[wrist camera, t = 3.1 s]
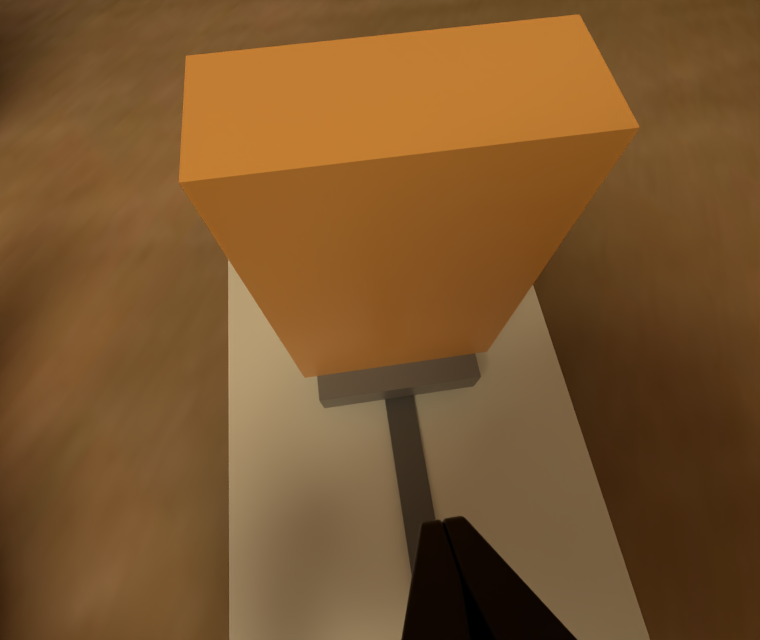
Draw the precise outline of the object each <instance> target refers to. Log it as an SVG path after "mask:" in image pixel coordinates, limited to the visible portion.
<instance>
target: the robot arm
mask: <svg viewBox="0 0 760 640" xmlns="http://www.w3.org/2000/svg"><path fill="white" fill-rule="evenodd" d="M401 640H577V639H576V637H575V636H574V635H573V634H572V633H571V632H570V631H569V630H568V629H567V628H566V627H565V626H564V624H563V623H562V622H561V621H560V620H559V619H558V618H557V617H556V616H555V615H554V614H553V612H552V611H551V610H550V609H549V608H548V607H547V606H546V605H545V604H544V603H543V602H542V601H541V599H540V598H539V597H538V596H537V595H536V594H535V593H534V592H533V591H532V590H531V589H530V587H529V586H528V585H527V584H526V583H525V582H524V581H523V580H522V579H521V578H520V577H519V575H518V574H517V573H516V572H515V571H514V570H513V569H512V568H511V567H510V566H509V565H508V564H507V562H506V561H505V560H504V559H503V558H502V557H501V556H500V555H499V554H498V553H497V552H496V550H495V549H494V548H493V547H492V546H491V545H490V544H489V543H488V542H487V541H486V540H485V539H484V537H483V536H482V535H481V534H480V533H479V532H478V531H477V530H476V529H475V528H474V527H473V525H472V524H471V523H470V522H469V521H468V520H467V519H466V518H465V517H463V516H456V517H449V518H445V519H444V520H443V522H442V521H441V520H439V519H437V520H431V521H425V522H422V523H421V525H420V529H419V535H418V541H417V547H416V554H415V560H414V566H413V572H412V578H411V584H410V590H409V596H408V602H407V608H406V614H405V620H404V626H403V632H402V638H401Z"/></svg>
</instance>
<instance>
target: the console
mask: <svg viewBox="0 0 760 640" xmlns="http://www.w3.org/2000/svg"><path fill="white" fill-rule="evenodd" d="M228 338H229V640H401V638H402V632H403V626H404V620H405V614H406V608H407V602H408V596H409V590H410V584H411V578H412V572H413V566H414V560H415V554H416V547H417V541H418V535H419V529H420V525H421V523H422V522H425V521H431V520H437V519H439V520H441V521H442V522H443V520H444V519H445V518H449V517H456V516H463V517H465V518H466V519H467V520H468V521H469V522H470V523H471V524H472V525H473V527H474V528H475V529H476V530H477V531H478V532H479V533H480V534H481V535H482V536H483V537H484V539H485V540H486V541H487V542H488V543H489V544H490V545H491V546H492V547H493V548H494V549H495V550H496V552H497V553H498V554H499V555H500V556H501V557H502V558H503V559H504V560H505V561H506V562H507V564H508V565H509V566H510V567H511V568H512V569H513V570H514V571H515V572H516V573H517V574H518V575H519V577H520V578H521V579H522V580H523V581H524V582H525V583H526V584H527V585H528V586H529V587H530V589H531V590H532V591H533V592H534V593H535V594H536V595H537V596H538V597H539V598H540V599H541V601H542V602H543V603H544V604H545V605H546V606H547V607H548V608H549V609H550V610H551V611H552V612H553V614H554V615H555V616H556V617H557V618H558V619H559V620H560V621H561V622H562V623H563V624H564V626H565V627H566V628H567V629H568V630H569V631H570V632H571V633H572V634H573V635H574V636H575V637H576V639H577V640H650V638H649V635H648V632H647V629H646V626H645V623H644V620H643V617H642V614H641V610H640V607H639V604H638V601H637V598H636V595H635V592H634V589H633V586H632V583H631V580H630V577H629V574H628V571H627V568H626V565H625V562H624V559H623V556H622V553H621V550H620V547H619V544H618V541H617V538H616V535H615V532H614V529H613V526H612V523H611V520H610V517H609V513H608V510H607V507H606V504H605V501H604V498H603V495H602V492H601V489H600V486H599V483H598V480H597V477H596V474H595V471H594V468H593V465H592V462H591V459H590V456H589V453H588V450H587V447H586V444H585V441H584V438H583V435H582V432H581V429H580V426H579V423H578V420H577V416H576V413H575V410H574V407H573V404H572V401H571V398H570V395H569V392H568V389H567V386H566V383H565V380H564V377H563V374H562V371H561V368H560V365H559V362H558V359H557V356H556V353H555V350H554V347H553V344H552V341H551V338H550V335H549V332H548V329H547V326H546V323H545V319H544V316H543V313H542V310H541V307H540V304H539V301H538V298H537V295H536V292H535V289H534V286H533V285H532V287H531V288H530V289H529V291H528V292H527V294H526V295H525V297H524V298H523V300H522V301H521V303H520V304H519V306H518V307H517V309H516V310H515V312H514V313H513V314H512V316H511V317H510V319H509V320H508V322H507V323H506V325H505V326H504V328H503V329H502V331H501V332H500V334H499V335H498V336H497V338H496V339H495V341H494V342H493V344H492V345H491V347H490V348H489V350H488V351H487V352H481V353H475V354H476V358H477V362H478V367H479V371H480V375H481V378H480V379H479V380H478V381H477V383H476V384H475V385H474V386H472V387H466V388H459V389H452V390H445V391H439V392H432V393H425V394H418V395H411V396H405V397H398V398H391V399H384V400H378V401H371V402H364V403H357V404H350V405H344V406H337V407H330V408H324V407H323V406H322V404H321V402H320V401H319V392H318V381H317V376H314V377H307V378H304V376H303V375H302V373H301V371H300V370H299V368H298V367H297V365H296V364H295V362H294V361H293V359H292V357H291V356H290V354H289V353H288V351H287V350H286V348H285V347H284V345H283V343H282V342H281V340H280V339H279V337H278V336H277V334H276V333H275V331H274V329H273V328H272V326H271V325H270V323H269V322H268V320H267V319H266V317H265V316H264V314H263V312H262V311H261V309H260V308H259V306H258V305H257V303H256V302H255V300H254V298H253V297H252V295H251V294H250V292H249V291H248V289H247V288H246V286H245V284H244V283H243V281H242V280H241V278H240V277H239V275H238V274H237V272H236V271H235V269H234V267H233V266H232V264H231V263H230V261H229V260H228Z"/></svg>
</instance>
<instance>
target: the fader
mask: <svg viewBox="0 0 760 640" xmlns="http://www.w3.org/2000/svg"><path fill="white" fill-rule="evenodd" d="M639 128H640V127H639V125H638V123H637V121H636V119H635V117H634V116H633V114H632V112H631V110H630V108H629V106H628V104H627V102H626V101H625V99H624V97H623V95H622V93H621V91H620V89H619V87H618V86H617V84H616V82H615V80H614V78H613V76H612V74H611V73H610V71H609V69H608V67H607V65H606V63H605V61H604V59H603V58H602V56H601V54H600V52H599V50H598V48H597V46H596V44H595V43H594V41H593V39H592V37H591V35H590V33H589V31H588V30H587V28H586V26H585V24H584V22H583V20H582V18H581V16H580V15H569V16H560V17H550V18H541V19H531V20H522V21H512V22H503V23H493V24H484V25H474V26H465V27H455V28H446V29H436V30H427V31H417V32H408V33H398V34H389V35H379V36H370V37H360V38H351V39H341V40H332V41H322V42H313V43H303V44H294V45H284V46H275V47H265V48H256V49H246V50H237V51H227V52H218V53H209V54H199V55H190V56H186V65H185V83H184V101H183V118H182V136H181V154H180V172H179V184H180V185H181V187H182V188H183V190H184V191H185V193H186V194H187V196H188V198H189V199H190V201H191V202H192V204H193V205H194V207H195V208H196V210H197V212H198V213H199V215H200V216H201V218H202V219H203V221H204V222H205V224H206V225H207V227H208V229H209V230H210V232H211V233H212V235H213V236H214V238H215V239H216V241H217V243H218V244H219V246H220V247H221V249H222V250H223V252H224V253H225V255H226V257H227V258H228V260H229V261H230V263H231V264H232V266H233V267H234V269H235V271H236V272H237V274H238V275H239V277H240V278H241V280H242V281H243V283H244V284H245V286H246V288H247V289H248V291H249V292H250V294H251V295H252V297H253V298H254V300H255V302H256V303H257V305H258V306H259V308H260V309H261V311H262V312H263V314H264V316H265V317H266V319H267V320H268V322H269V323H270V325H271V326H272V328H273V329H274V331H275V333H276V334H277V336H278V337H279V339H280V340H281V342H282V343H283V345H284V347H285V348H286V350H287V351H288V353H289V354H290V356H291V357H292V359H293V361H294V362H295V364H296V365H297V367H298V368H299V370H300V371H301V373H302V375H303V376H304V378H307V377H314V376H317V381H318V392H319V401H320V402H321V404H322V406H323V407H324V408H330V407H337V406H344V405H350V404H357V403H364V402H371V401H378V400H384V399H391V398H398V397H405V396H411V395H418V394H425V393H432V392H439V391H445V390H452V389H459V388H466V387H472V386H474V385H475V384H476V383H477V381H478V380H479V379H480V378H481V375H480V371H479V367H478V362H477V358H476V354H475V353H481V352H487V351H488V350H489V348H490V347H491V345H492V344H493V342H494V341H495V339H496V338H497V336H498V335H499V334H500V332H501V331H502V329H503V328H504V326H505V325H506V323H507V322H508V320H509V319H510V317H511V316H512V314H513V313H514V312H515V310H516V309H517V307H518V306H519V304H520V303H521V301H522V300H523V298H524V297H525V295H526V294H527V292H528V291H529V289H530V288H531V287H532V285H533V284H534V282H535V281H536V279H537V278H538V276H539V275H540V273H541V272H542V270H543V269H544V267H545V266H546V265H547V263H548V262H549V260H550V259H551V257H552V256H553V254H554V253H555V251H556V250H557V248H558V247H559V245H560V244H561V243H562V241H563V240H564V238H565V237H566V235H567V234H568V232H569V231H570V229H571V228H572V226H573V225H574V223H575V222H576V220H577V219H578V218H579V216H580V215H581V213H582V212H583V210H584V209H585V207H586V206H587V204H588V203H589V201H590V200H591V198H592V197H593V196H594V194H595V193H596V191H597V190H598V188H599V187H600V185H601V184H602V182H603V181H604V179H605V178H606V176H607V175H608V174H609V172H610V171H611V169H612V168H613V166H614V165H615V163H616V162H617V160H618V159H619V157H620V156H621V154H622V153H623V151H624V150H625V149H626V147H627V146H628V144H629V143H630V141H631V140H632V138H633V137H634V135H635V134H636V132H637V131H638V129H639Z"/></svg>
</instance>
